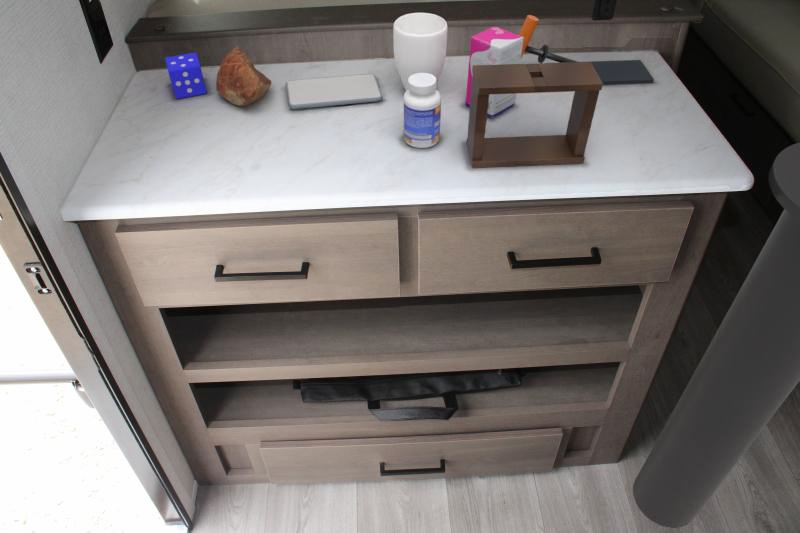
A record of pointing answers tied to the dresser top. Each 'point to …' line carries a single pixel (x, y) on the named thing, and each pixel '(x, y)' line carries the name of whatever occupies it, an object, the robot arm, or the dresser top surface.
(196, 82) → the die
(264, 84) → the reddish-brown rock
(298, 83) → the smartphone
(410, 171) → the dresser top surface
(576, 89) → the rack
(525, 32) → the T-handle
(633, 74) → the mat
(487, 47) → the supplement box
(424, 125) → the pill bottle
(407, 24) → the mug
